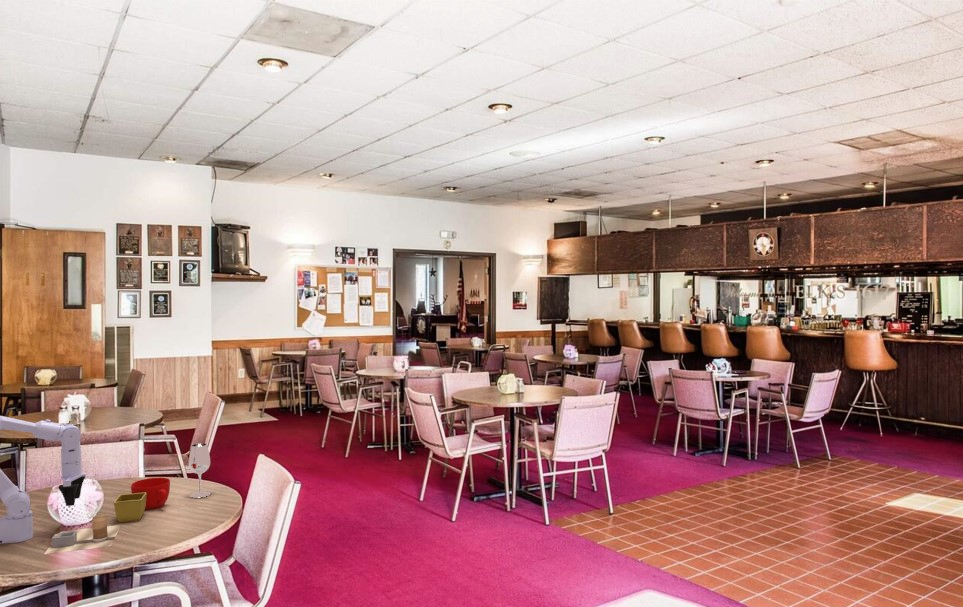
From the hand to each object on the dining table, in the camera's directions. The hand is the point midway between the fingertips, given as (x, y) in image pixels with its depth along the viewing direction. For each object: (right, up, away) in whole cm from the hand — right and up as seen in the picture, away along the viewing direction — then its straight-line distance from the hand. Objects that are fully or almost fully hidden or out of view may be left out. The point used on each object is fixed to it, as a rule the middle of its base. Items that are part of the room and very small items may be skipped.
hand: (73, 501), depth 224 cm
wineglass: (+26, -9, +39) cm, 48 cm away
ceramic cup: (+16, -10, +22) cm, 29 cm away
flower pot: (+14, -10, +10) cm, 20 cm away
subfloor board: (+9, -11, -9) cm, 17 cm away
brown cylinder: (+15, -9, -10) cm, 20 cm away
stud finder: (+6, -9, -14) cm, 18 cm away
